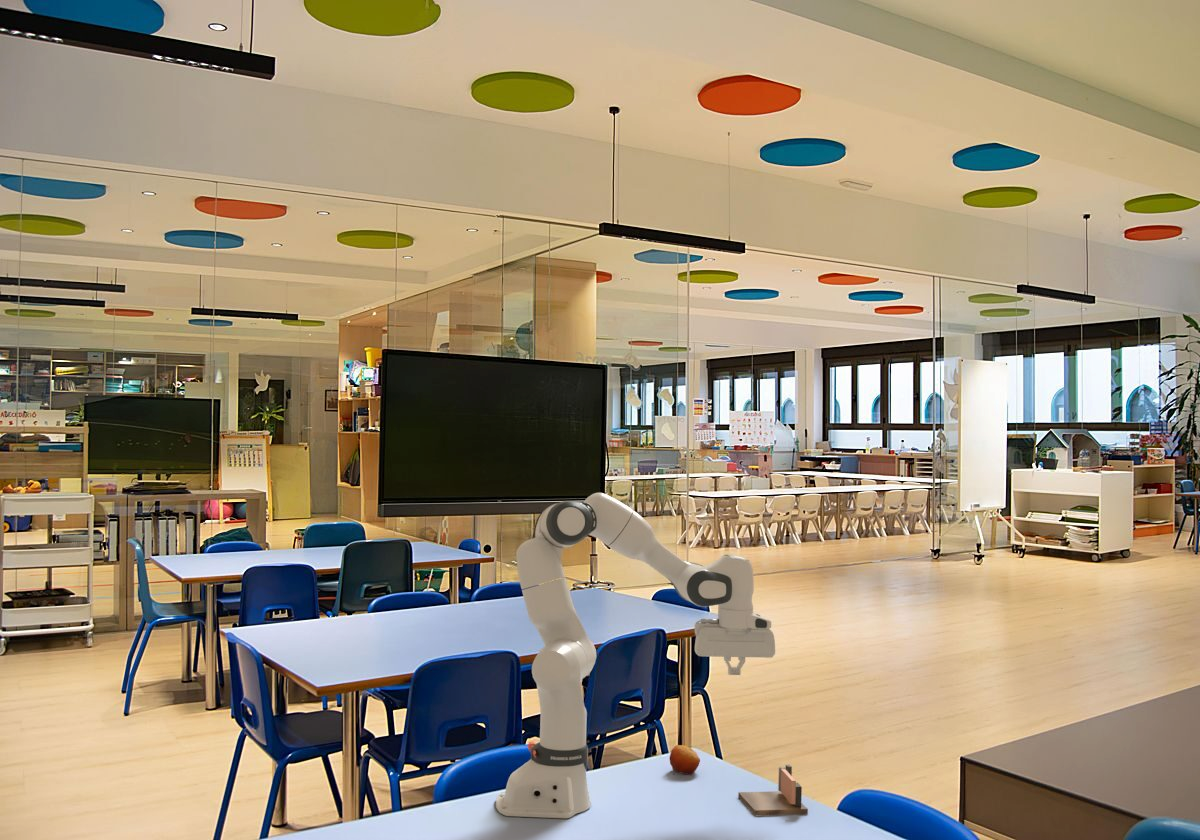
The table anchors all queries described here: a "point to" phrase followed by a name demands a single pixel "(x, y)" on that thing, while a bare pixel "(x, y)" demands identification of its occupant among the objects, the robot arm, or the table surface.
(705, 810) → the table surface
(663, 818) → the table surface
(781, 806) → the gate frame
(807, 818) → the table surface
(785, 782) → the gate
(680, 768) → the fruit
